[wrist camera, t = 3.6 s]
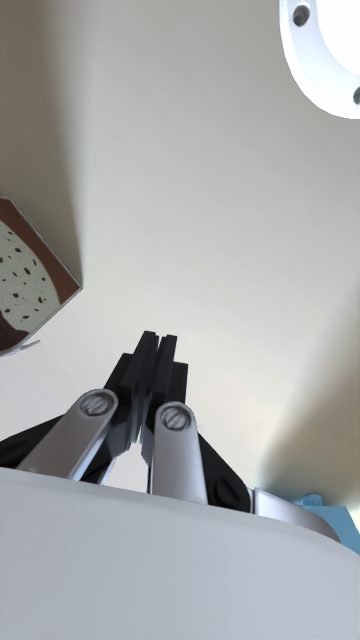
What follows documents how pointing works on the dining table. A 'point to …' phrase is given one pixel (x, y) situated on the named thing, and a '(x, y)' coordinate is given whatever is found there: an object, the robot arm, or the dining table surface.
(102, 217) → the dining table surface
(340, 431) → the dining table surface
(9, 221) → the food container
